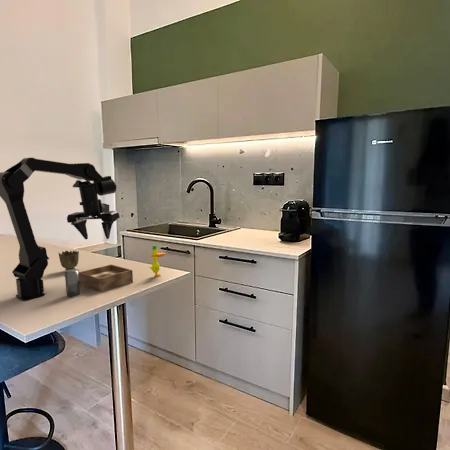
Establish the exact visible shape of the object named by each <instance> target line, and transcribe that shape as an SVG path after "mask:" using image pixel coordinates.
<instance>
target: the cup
mask: <svg viewBox="0 0 450 450" xmlns="http://www.w3.org/2000/svg"><path fill="white" fill-rule="evenodd" d="M58 257H59V262H60V265H61V267H62V268H64V272H65V271H66V270H71V269H76V268H77V266H78V264H79V260H80V259H79V257H80V251H78V250H69V251H68V250H65V251H62V252H58Z"/></svg>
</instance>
